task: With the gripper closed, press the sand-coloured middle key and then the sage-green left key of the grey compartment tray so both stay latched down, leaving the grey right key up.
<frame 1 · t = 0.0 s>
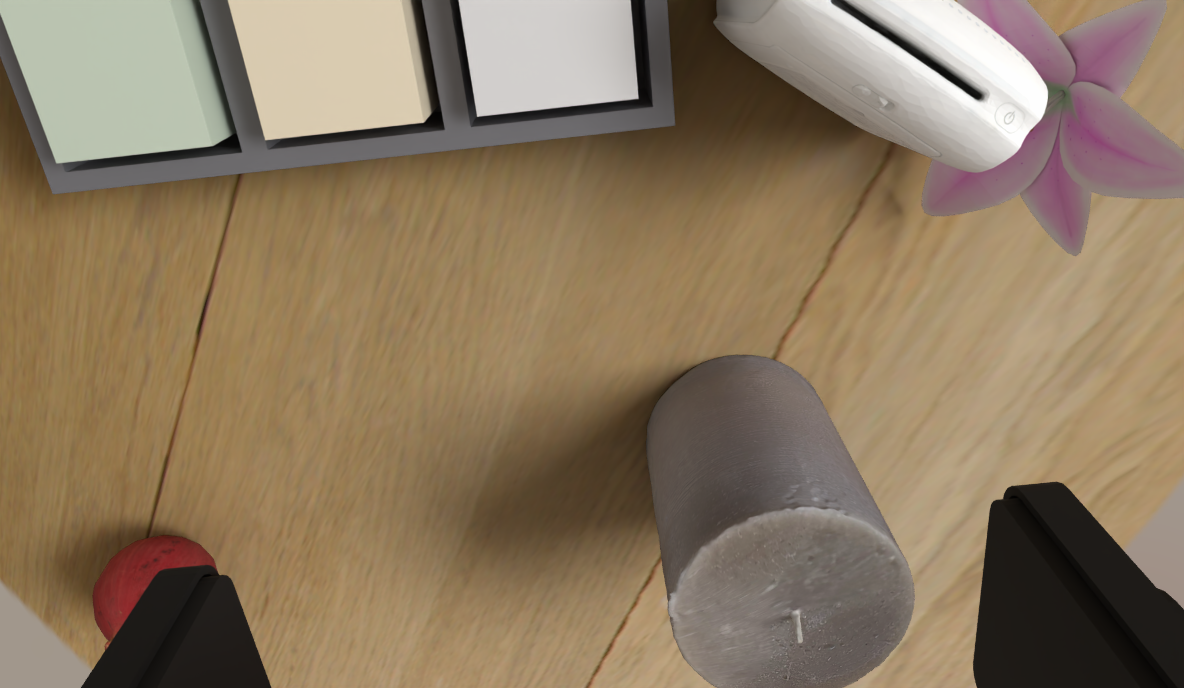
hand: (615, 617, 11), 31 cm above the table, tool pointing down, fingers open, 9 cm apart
key sage: (132, 64, 33), point 5 cm above the table, slide at 0.0 cm
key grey: (548, 17, 32), point 5 cm above the table, slide at 0.0 cm
grey compartment tray: (367, 28, 37), on the table
onion: (188, 544, 49), on the table
lily: (983, 99, 39), on the table, touching photo printer
pillar candle: (733, 429, 46), on the table
key sand: (339, 41, 33), point 5 cm above the table, slide at 0.0 cm
photo printer: (821, 44, 37), on the table, touching lily
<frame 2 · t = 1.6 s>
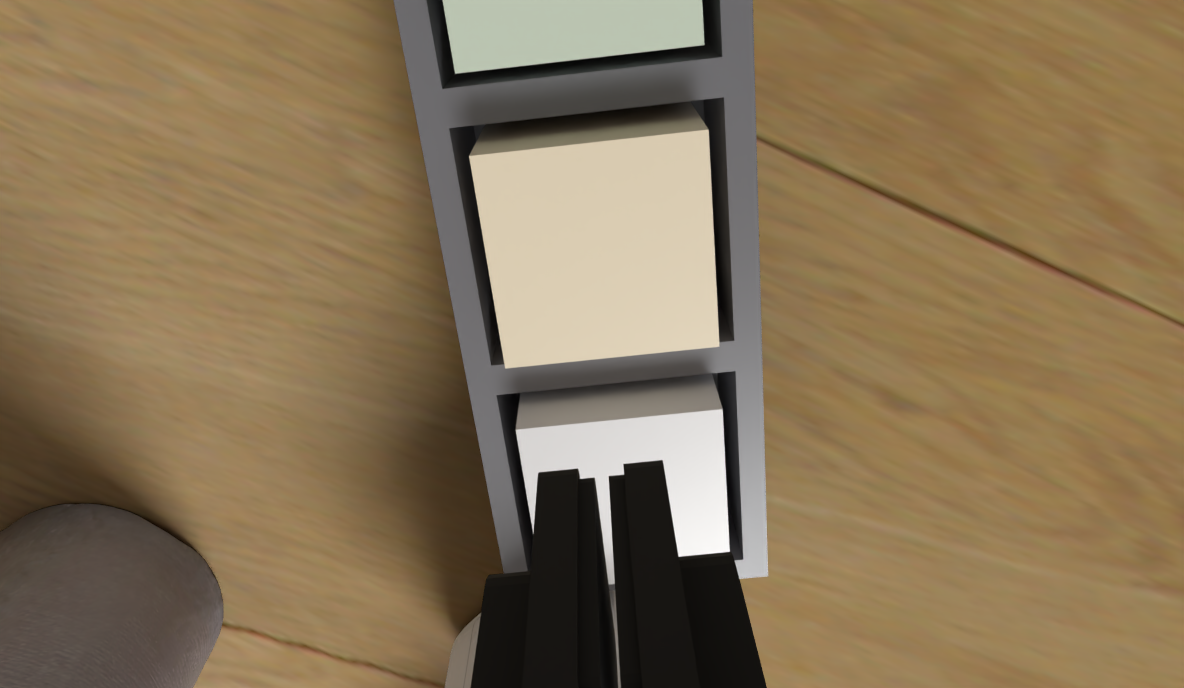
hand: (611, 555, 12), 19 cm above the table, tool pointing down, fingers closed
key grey: (624, 467, 28), point 5 cm above the table, slide at 0.0 cm
grey compartment tray: (596, 188, 29), on the table
pillar candle: (114, 591, 36), on the table
key sand: (599, 232, 25), point 5 cm above the table, slide at 0.0 cm
photo printer: (558, 596, 37), on the table
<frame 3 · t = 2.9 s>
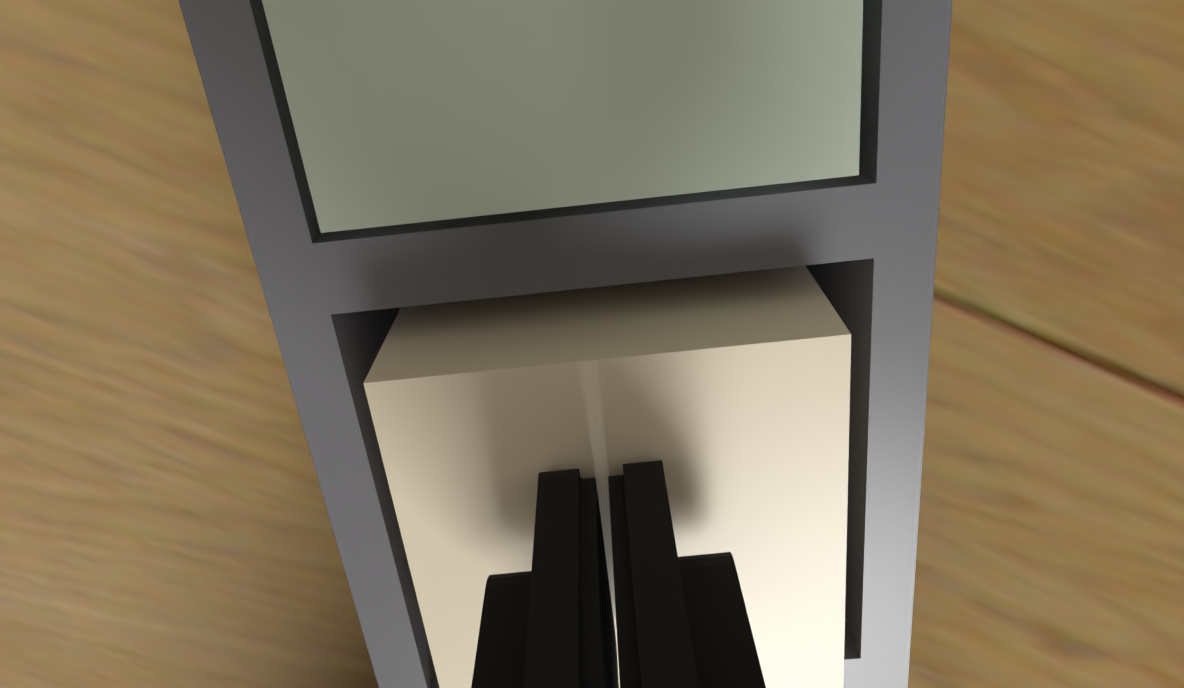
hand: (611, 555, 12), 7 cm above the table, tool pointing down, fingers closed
grey compartment tray: (612, 346, 18), on the table
key sand: (621, 472, 14), point 5 cm above the table, slide at 0.2 cm, touching gripper
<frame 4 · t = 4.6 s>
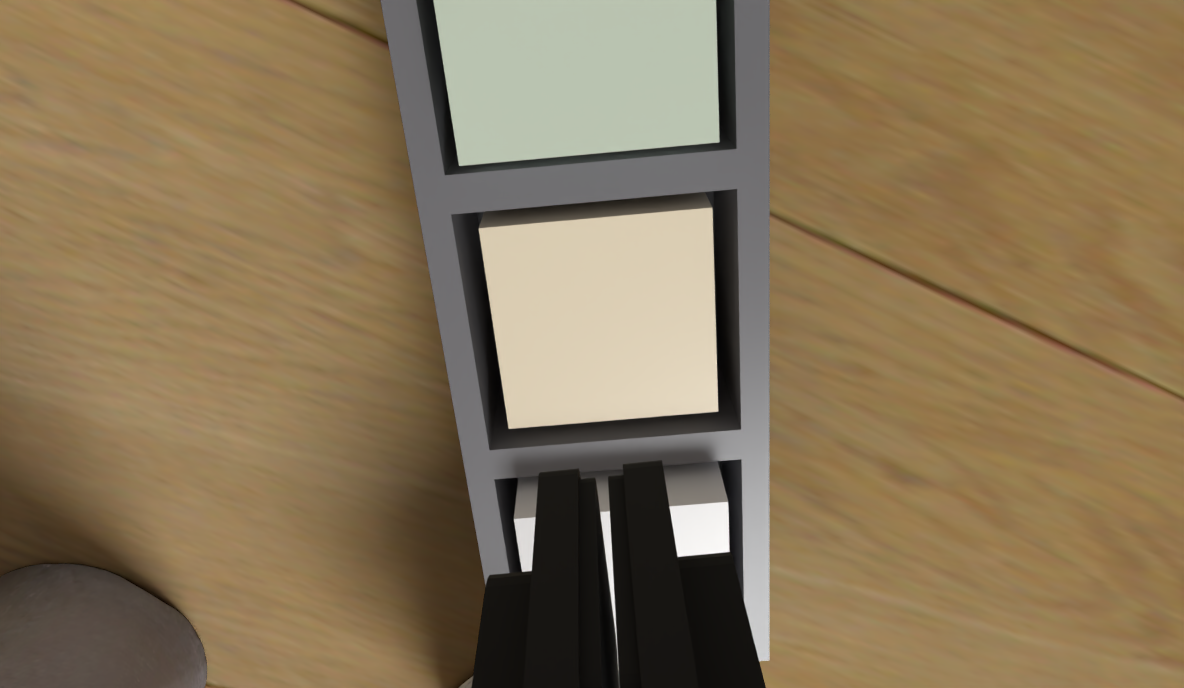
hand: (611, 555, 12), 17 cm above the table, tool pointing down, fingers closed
key sage: (576, 8, 20), point 5 cm above the table, slide at 0.0 cm
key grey: (624, 550, 27), point 5 cm above the table, slide at 0.0 cm
grey compartment tray: (600, 259, 28), on the table
pillar candle: (94, 649, 35), on the table
key sand: (602, 296, 25), point 3 cm above the table, slide at 1.6 cm
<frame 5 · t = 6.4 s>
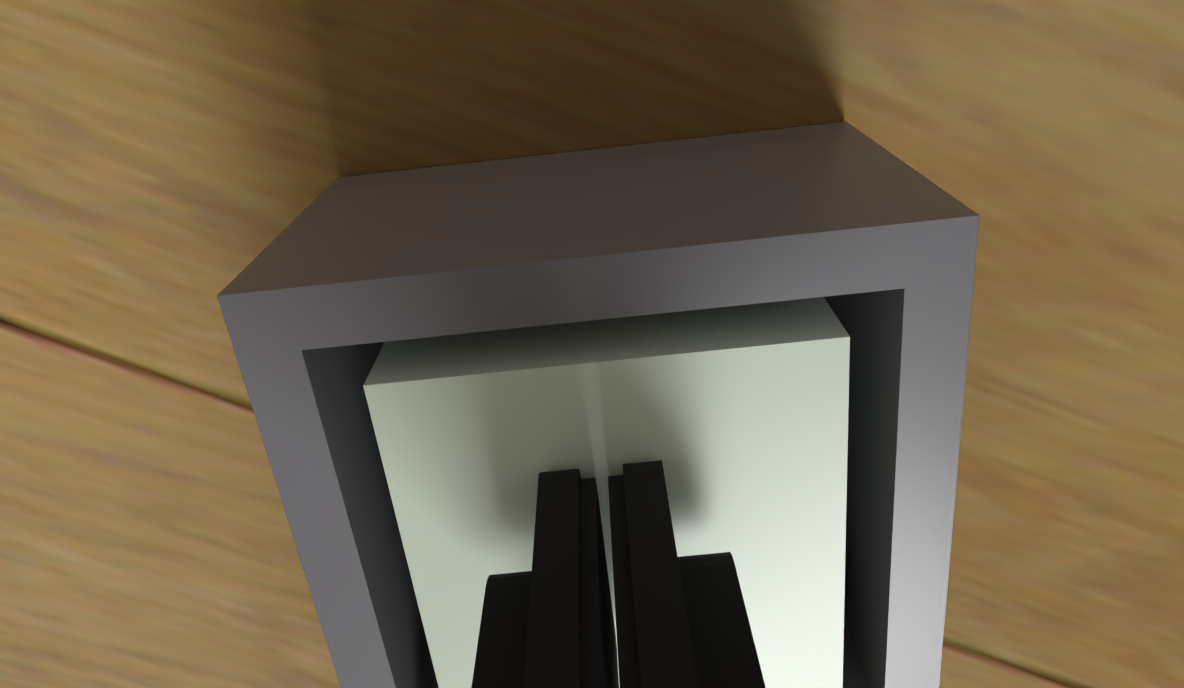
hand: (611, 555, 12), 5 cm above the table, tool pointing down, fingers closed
key sage: (620, 474, 14), point 3 cm above the table, slide at 1.4 cm, touching gripper
grey compartment tray: (647, 678, 20), on the table
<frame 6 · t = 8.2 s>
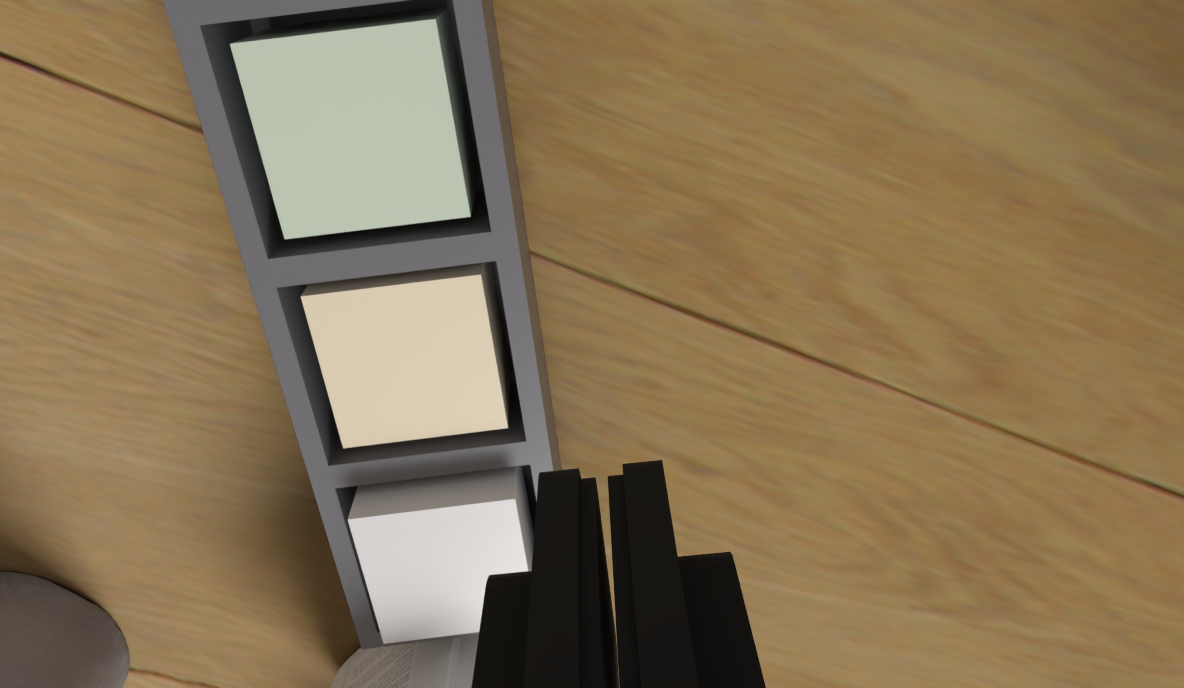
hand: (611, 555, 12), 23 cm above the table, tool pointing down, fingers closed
key sage: (367, 121, 28), point 3 cm above the table, slide at 1.6 cm
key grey: (451, 539, 34), point 5 cm above the table, slide at 0.0 cm
grey compartment tray: (426, 304, 35), on the table
pillar candle: (30, 643, 41), on the table
key sand: (416, 340, 32), point 3 cm above the table, slide at 1.6 cm
photo printer: (424, 634, 43), on the table
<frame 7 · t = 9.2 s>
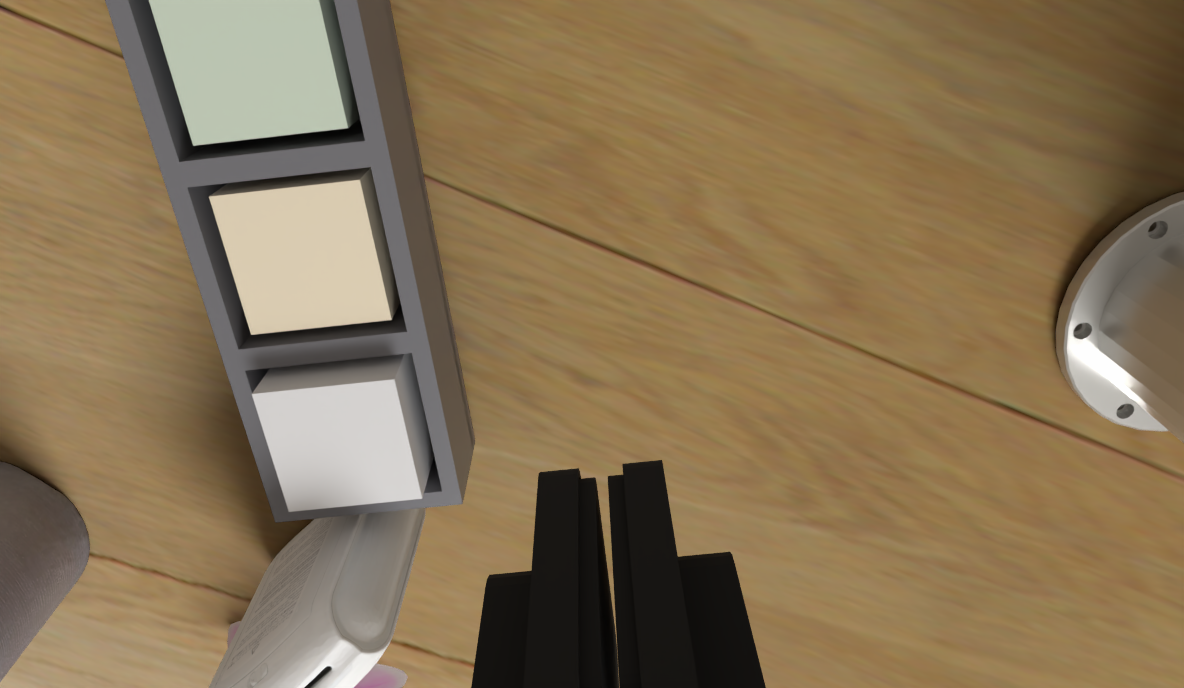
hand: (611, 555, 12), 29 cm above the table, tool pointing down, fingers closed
key sage: (266, 48, 33), point 3 cm above the table, slide at 1.6 cm
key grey: (350, 424, 39), point 5 cm above the table, slide at 0.0 cm
grey compartment tray: (336, 221, 40), on the table
lily: (322, 649, 51), on the table
pillar candle: (4, 527, 47), on the table
key sand: (316, 244, 37), point 3 cm above the table, slide at 1.6 cm
photo printer: (349, 531, 48), on the table
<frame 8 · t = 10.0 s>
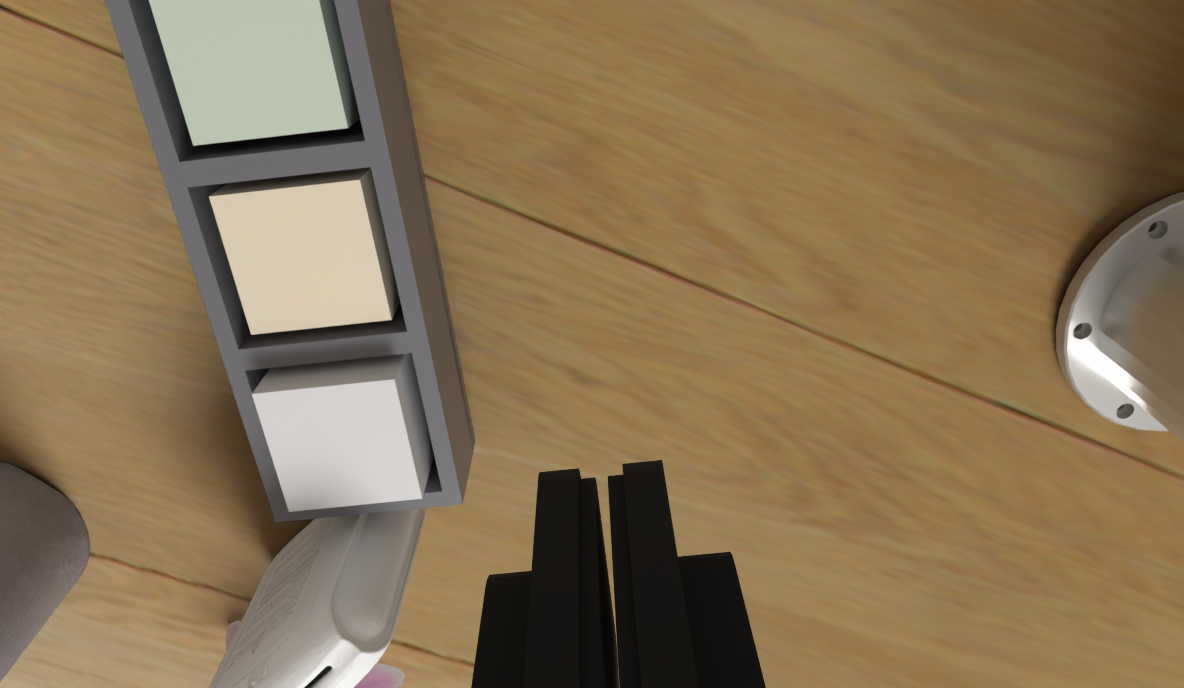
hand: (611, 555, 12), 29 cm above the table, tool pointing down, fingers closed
key sage: (266, 48, 33), point 3 cm above the table, slide at 1.6 cm
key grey: (350, 424, 39), point 5 cm above the table, slide at 0.0 cm
grey compartment tray: (336, 221, 40), on the table
lily: (321, 649, 51), on the table
pillar candle: (4, 527, 47), on the table
key sand: (316, 244, 37), point 3 cm above the table, slide at 1.6 cm
photo printer: (349, 531, 48), on the table
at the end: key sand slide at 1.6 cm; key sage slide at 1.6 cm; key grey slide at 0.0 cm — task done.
